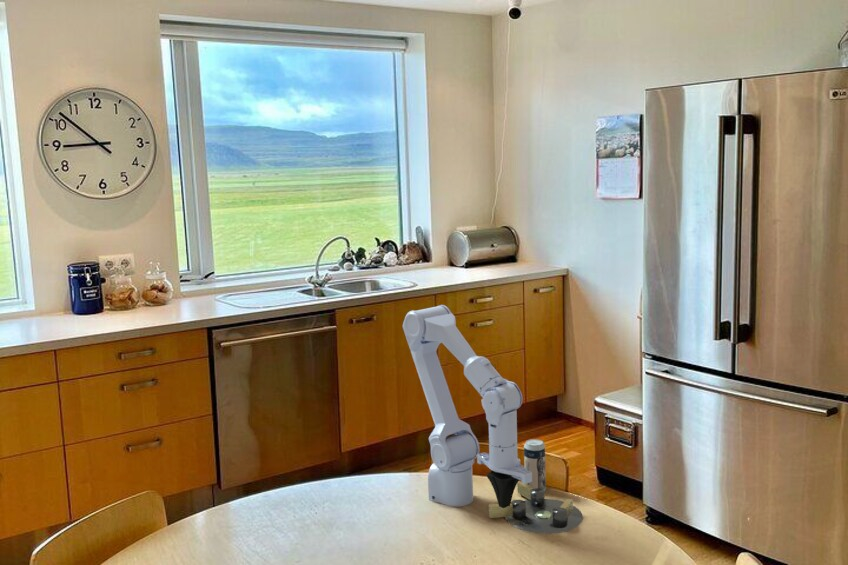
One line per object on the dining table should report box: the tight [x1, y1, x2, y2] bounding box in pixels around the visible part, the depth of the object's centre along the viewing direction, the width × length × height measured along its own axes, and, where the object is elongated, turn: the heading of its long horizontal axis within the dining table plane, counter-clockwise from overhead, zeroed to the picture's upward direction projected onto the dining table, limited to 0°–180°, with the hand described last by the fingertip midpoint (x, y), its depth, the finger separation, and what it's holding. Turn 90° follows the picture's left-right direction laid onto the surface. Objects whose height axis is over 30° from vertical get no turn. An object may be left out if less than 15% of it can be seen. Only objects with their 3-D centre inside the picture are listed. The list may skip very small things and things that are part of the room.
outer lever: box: [552, 498, 574, 527], centre depth 156 cm, size 8×3×3 cm, turn 150°
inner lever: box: [487, 499, 526, 519], centre depth 158 cm, size 8×3×3 cm, turn 97°
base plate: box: [504, 498, 584, 535], centre depth 159 cm, size 16×16×2 cm
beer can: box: [523, 438, 547, 492], centre depth 171 cm, size 5×5×12 cm
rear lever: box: [516, 480, 546, 507], centre depth 166 cm, size 8×3×3 cm, turn 30°
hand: (504, 505), depth 157 cm, fingers closed
